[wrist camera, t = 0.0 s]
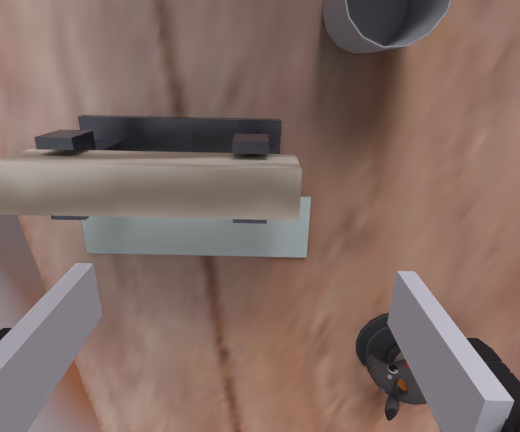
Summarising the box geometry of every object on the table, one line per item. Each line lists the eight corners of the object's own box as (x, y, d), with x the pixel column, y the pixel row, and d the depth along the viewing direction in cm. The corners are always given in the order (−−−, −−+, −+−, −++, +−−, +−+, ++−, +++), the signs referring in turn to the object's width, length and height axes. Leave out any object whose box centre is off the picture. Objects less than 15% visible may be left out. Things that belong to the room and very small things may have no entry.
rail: (29, 148, 33) (-18, 164, 27) (295, 154, 33) (302, 171, 27) (38, 191, 34) (-5, 214, 28) (292, 196, 34) (299, 220, 29)
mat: (78, 191, 44) (76, 193, 43) (310, 196, 44) (311, 198, 43) (88, 250, 46) (86, 253, 46) (305, 255, 47) (306, 257, 46)
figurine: (420, 380, 54) (457, 457, 43) (344, 363, 54) (362, 436, 43) (453, 321, 50) (502, 389, 39) (371, 301, 50) (399, 365, 39)
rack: (83, 115, 40) (14, 131, 29) (280, 119, 40) (287, 137, 29) (94, 184, 43) (35, 223, 32) (277, 187, 43) (283, 228, 32)
